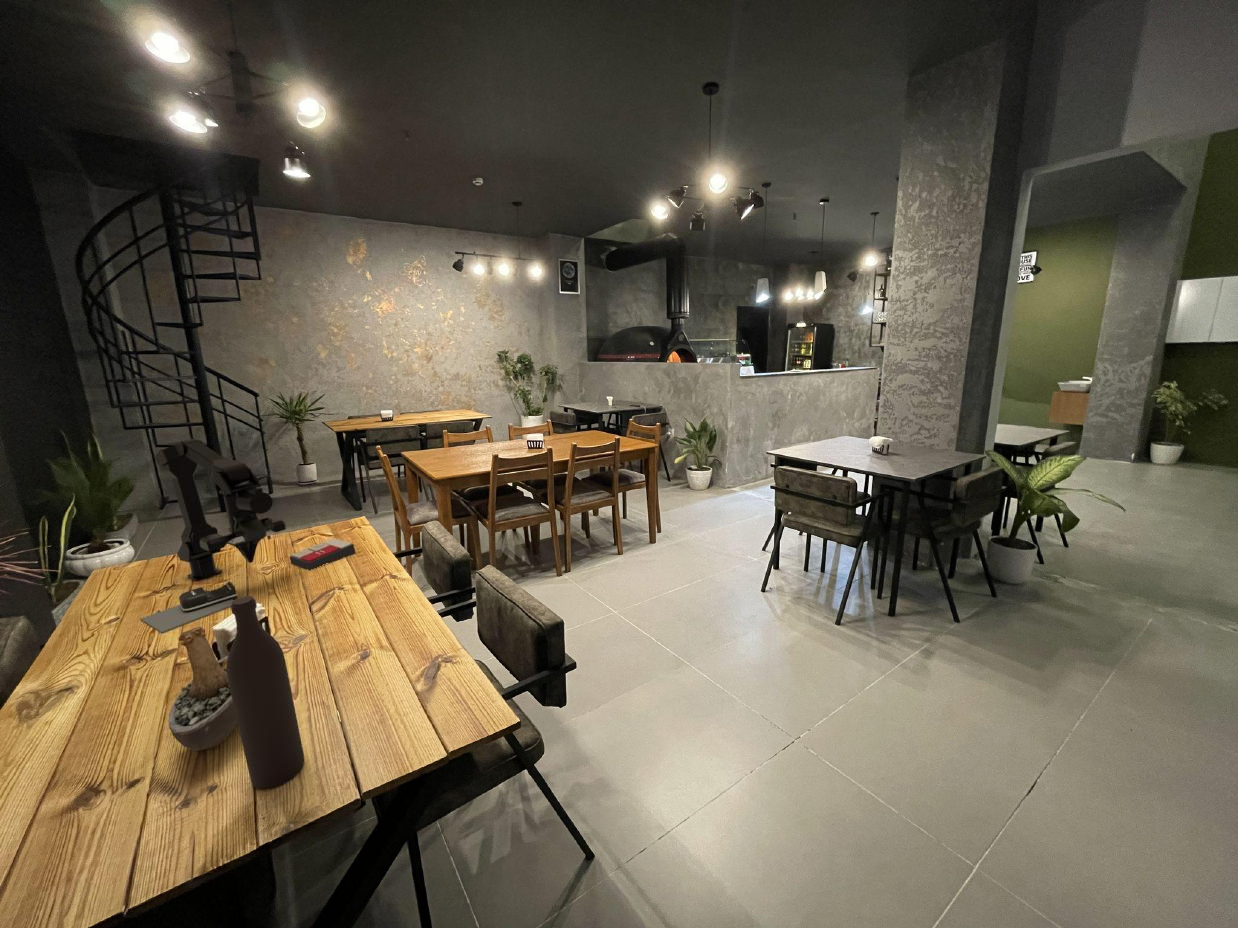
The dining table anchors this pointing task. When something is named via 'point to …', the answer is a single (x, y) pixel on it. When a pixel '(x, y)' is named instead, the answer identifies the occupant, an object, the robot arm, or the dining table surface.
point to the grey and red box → (322, 554)
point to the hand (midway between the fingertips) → (250, 562)
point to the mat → (181, 616)
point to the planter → (203, 697)
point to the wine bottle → (263, 701)
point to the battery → (206, 597)
